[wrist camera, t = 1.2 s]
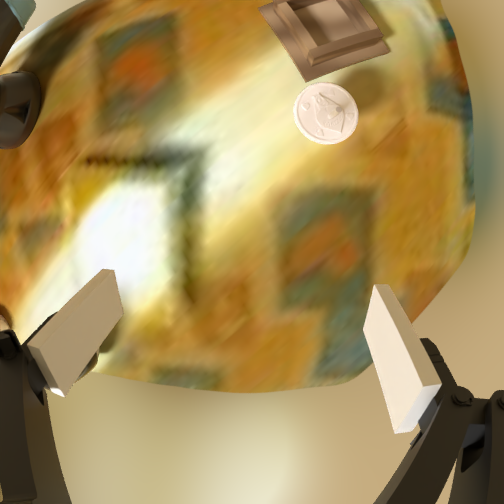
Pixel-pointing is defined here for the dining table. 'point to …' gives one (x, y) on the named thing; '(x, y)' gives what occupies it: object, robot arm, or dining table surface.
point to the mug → (3, 324)
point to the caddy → (324, 34)
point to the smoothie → (325, 113)
